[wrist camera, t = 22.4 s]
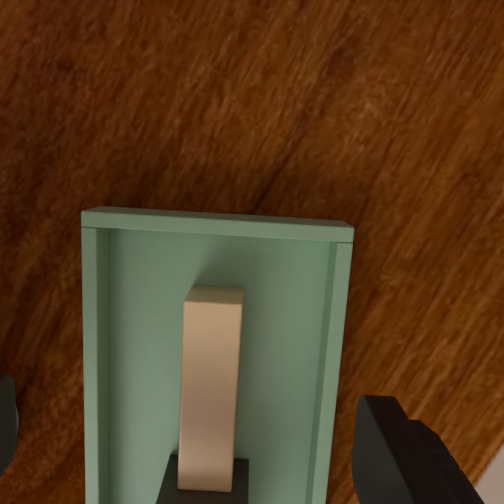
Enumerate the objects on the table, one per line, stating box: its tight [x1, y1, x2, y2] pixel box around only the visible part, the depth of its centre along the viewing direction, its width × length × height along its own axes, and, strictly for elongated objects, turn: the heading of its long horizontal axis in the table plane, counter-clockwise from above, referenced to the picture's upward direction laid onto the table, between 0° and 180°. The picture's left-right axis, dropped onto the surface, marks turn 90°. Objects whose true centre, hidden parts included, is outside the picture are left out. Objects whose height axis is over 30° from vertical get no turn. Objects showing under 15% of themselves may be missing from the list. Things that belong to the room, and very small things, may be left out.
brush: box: [156, 285, 249, 504], centre depth 18 cm, size 12×4×3 cm, turn 176°
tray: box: [81, 206, 354, 504], centre depth 19 cm, size 18×10×2 cm, turn 177°
